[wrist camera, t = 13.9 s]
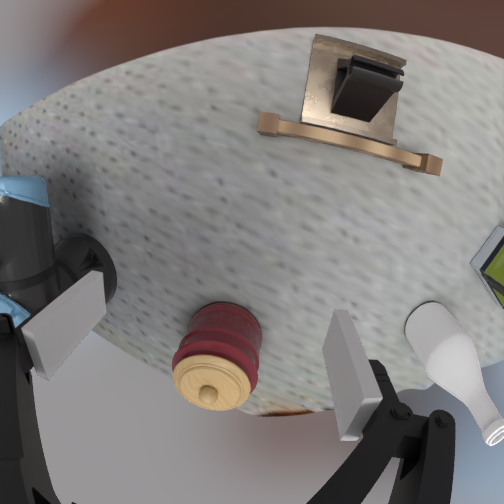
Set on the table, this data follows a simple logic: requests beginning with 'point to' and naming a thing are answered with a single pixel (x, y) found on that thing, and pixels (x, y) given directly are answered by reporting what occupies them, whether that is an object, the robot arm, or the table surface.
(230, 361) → the canister
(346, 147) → the door pull handle
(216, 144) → the table surface
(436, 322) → the wine bottle
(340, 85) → the phone stand
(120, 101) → the table surface
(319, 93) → the keeper plate
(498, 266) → the tea box
